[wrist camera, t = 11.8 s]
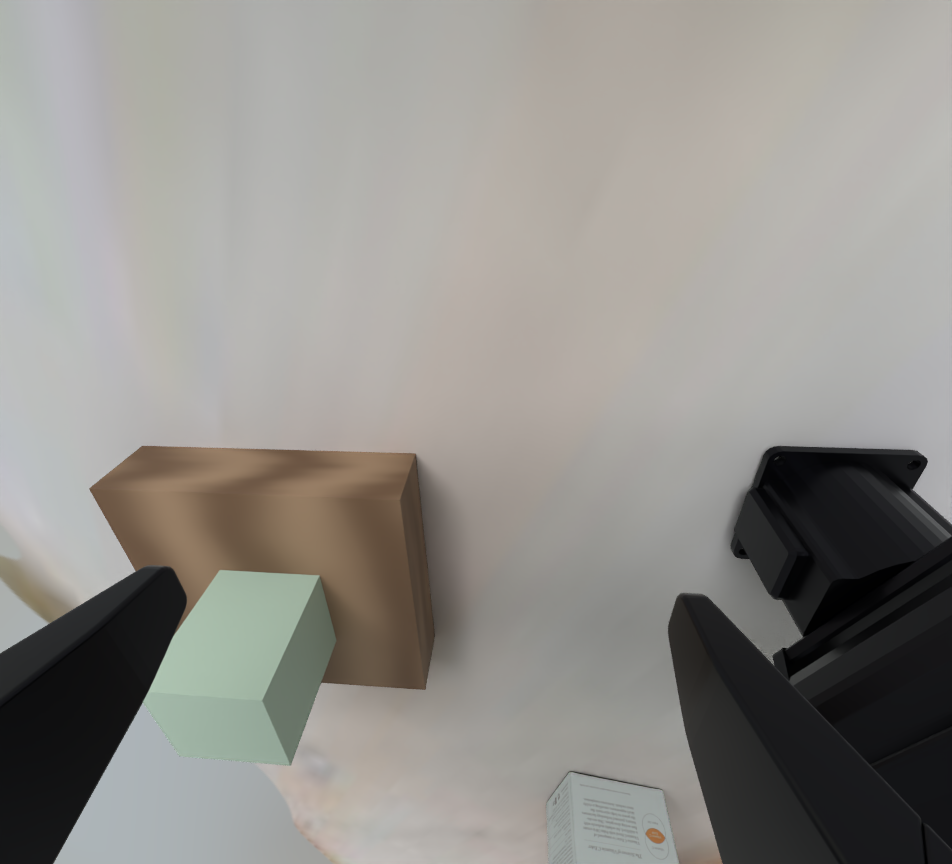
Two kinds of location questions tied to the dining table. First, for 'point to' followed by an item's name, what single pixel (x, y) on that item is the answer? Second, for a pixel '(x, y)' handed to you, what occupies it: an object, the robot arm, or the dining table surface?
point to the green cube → (245, 668)
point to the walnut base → (291, 539)
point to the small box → (608, 823)
